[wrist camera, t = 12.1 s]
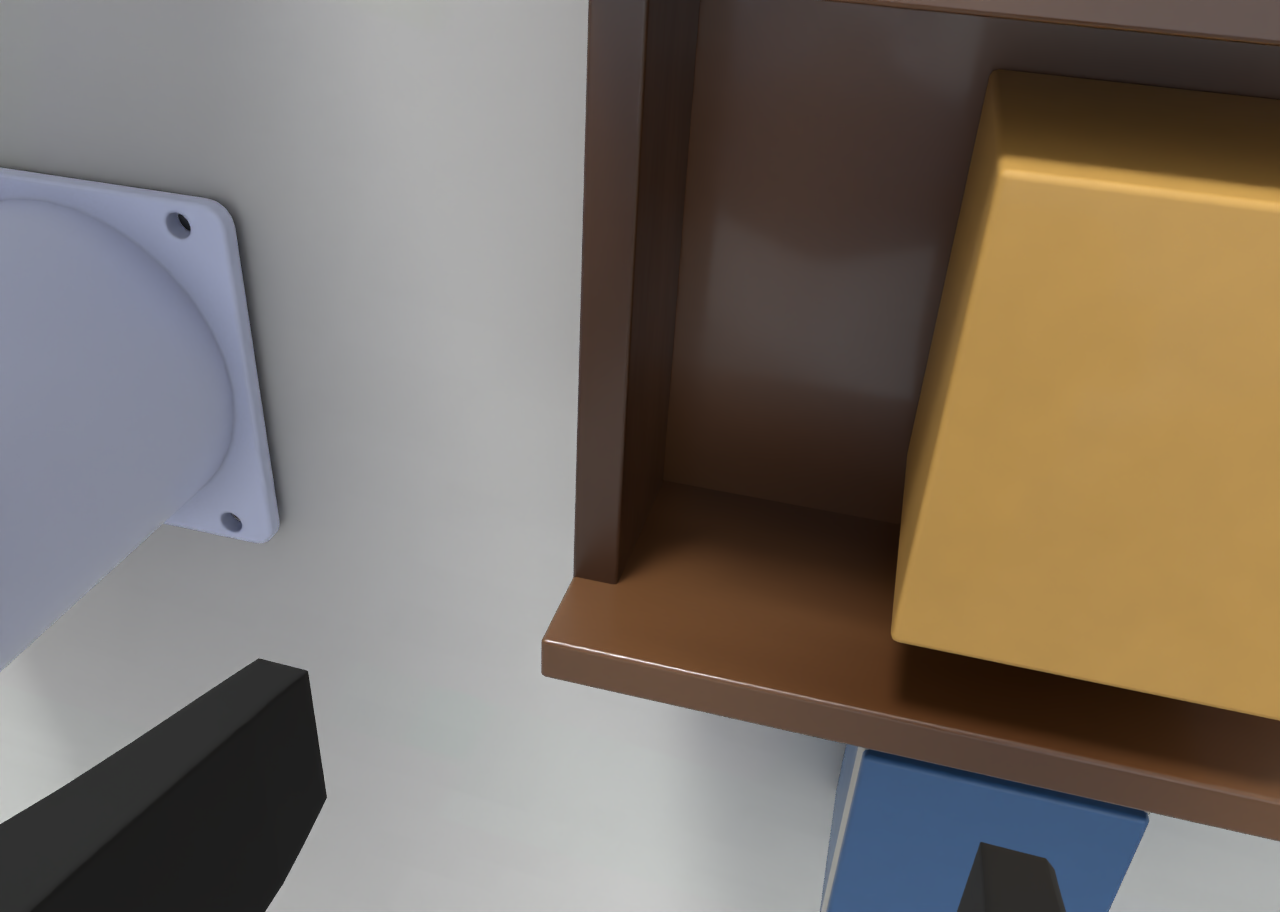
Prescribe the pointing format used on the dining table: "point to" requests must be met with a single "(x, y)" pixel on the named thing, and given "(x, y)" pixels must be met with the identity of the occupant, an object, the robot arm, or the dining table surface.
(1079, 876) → the blue book
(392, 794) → the dining table surface
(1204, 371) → the ochre carton
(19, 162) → the dining table surface
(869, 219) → the shelf
